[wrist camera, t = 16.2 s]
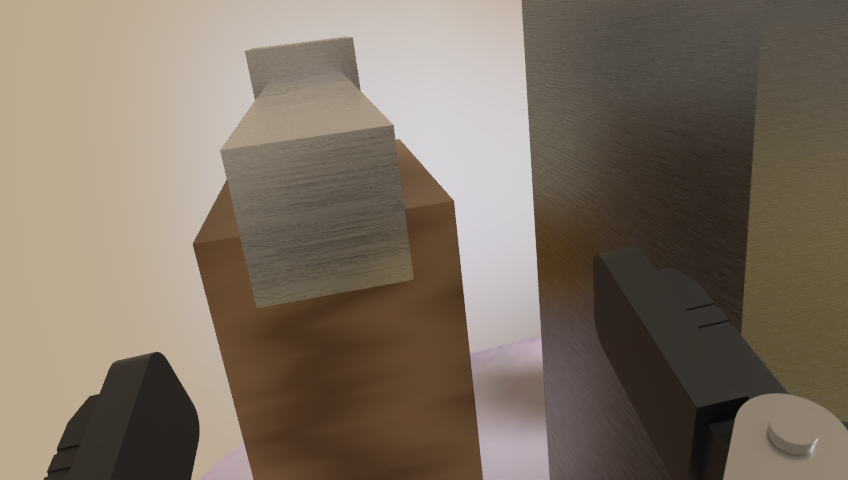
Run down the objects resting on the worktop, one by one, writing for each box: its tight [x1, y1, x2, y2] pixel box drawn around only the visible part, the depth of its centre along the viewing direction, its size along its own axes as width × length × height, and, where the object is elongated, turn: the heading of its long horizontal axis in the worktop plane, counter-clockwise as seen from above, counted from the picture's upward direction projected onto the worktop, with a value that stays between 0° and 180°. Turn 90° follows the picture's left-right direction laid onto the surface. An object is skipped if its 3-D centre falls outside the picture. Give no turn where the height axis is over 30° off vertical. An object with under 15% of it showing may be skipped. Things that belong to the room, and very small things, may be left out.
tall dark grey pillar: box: [522, 0, 848, 480], centre depth 24 cm, size 10×16×32 cm, turn 10°
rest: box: [193, 139, 483, 480], centre depth 29 cm, size 8×12×26 cm, turn 10°
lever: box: [220, 37, 414, 308], centre depth 24 cm, size 5×23×5 cm, turn 10°
